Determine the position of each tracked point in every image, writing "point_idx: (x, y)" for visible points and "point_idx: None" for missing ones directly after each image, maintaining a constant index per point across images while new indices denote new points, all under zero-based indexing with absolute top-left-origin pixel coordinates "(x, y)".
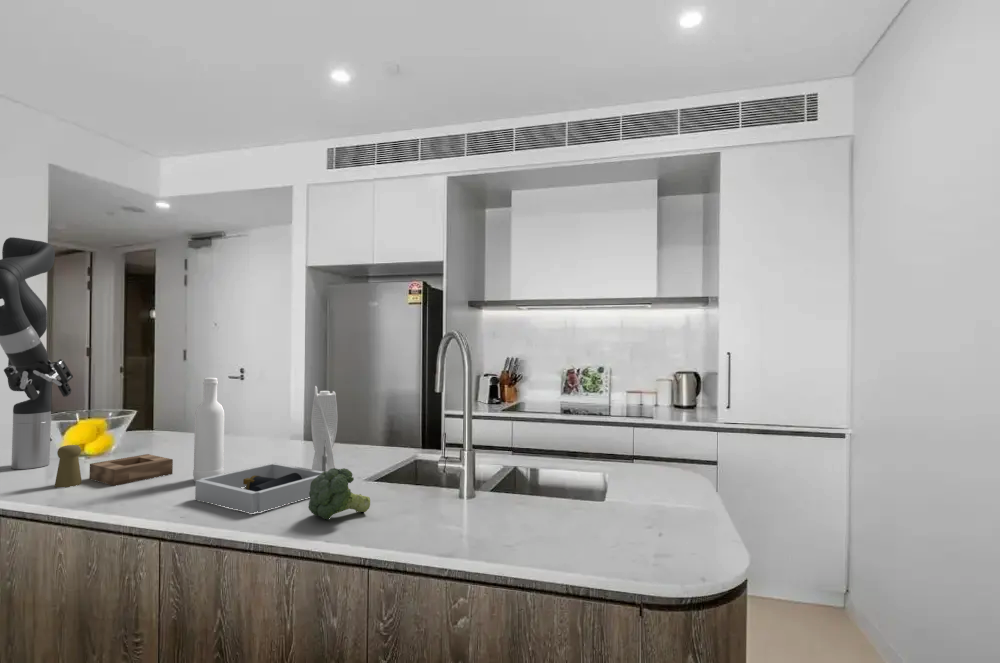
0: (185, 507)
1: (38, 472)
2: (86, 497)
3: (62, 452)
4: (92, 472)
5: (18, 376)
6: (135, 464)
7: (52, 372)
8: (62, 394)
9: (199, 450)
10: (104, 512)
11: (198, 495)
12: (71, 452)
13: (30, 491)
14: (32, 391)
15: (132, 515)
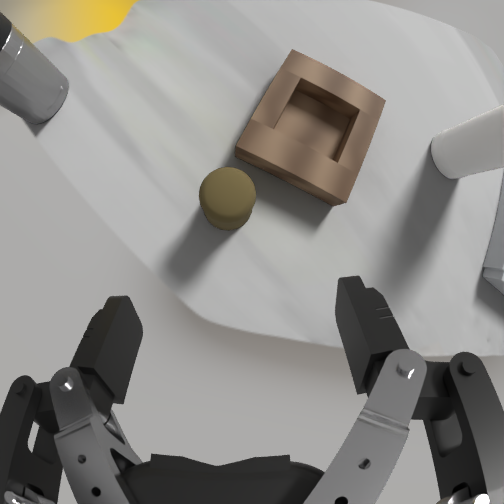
0: (482, 307)
1: (85, 127)
2: None
3: (231, 222)
4: (248, 158)
5: (25, 445)
6: (350, 147)
7: (340, 470)
8: (341, 333)
9: (486, 168)
10: None
11: (490, 280)
12: (250, 211)
13: (193, 264)
14: (120, 354)
15: (448, 352)
